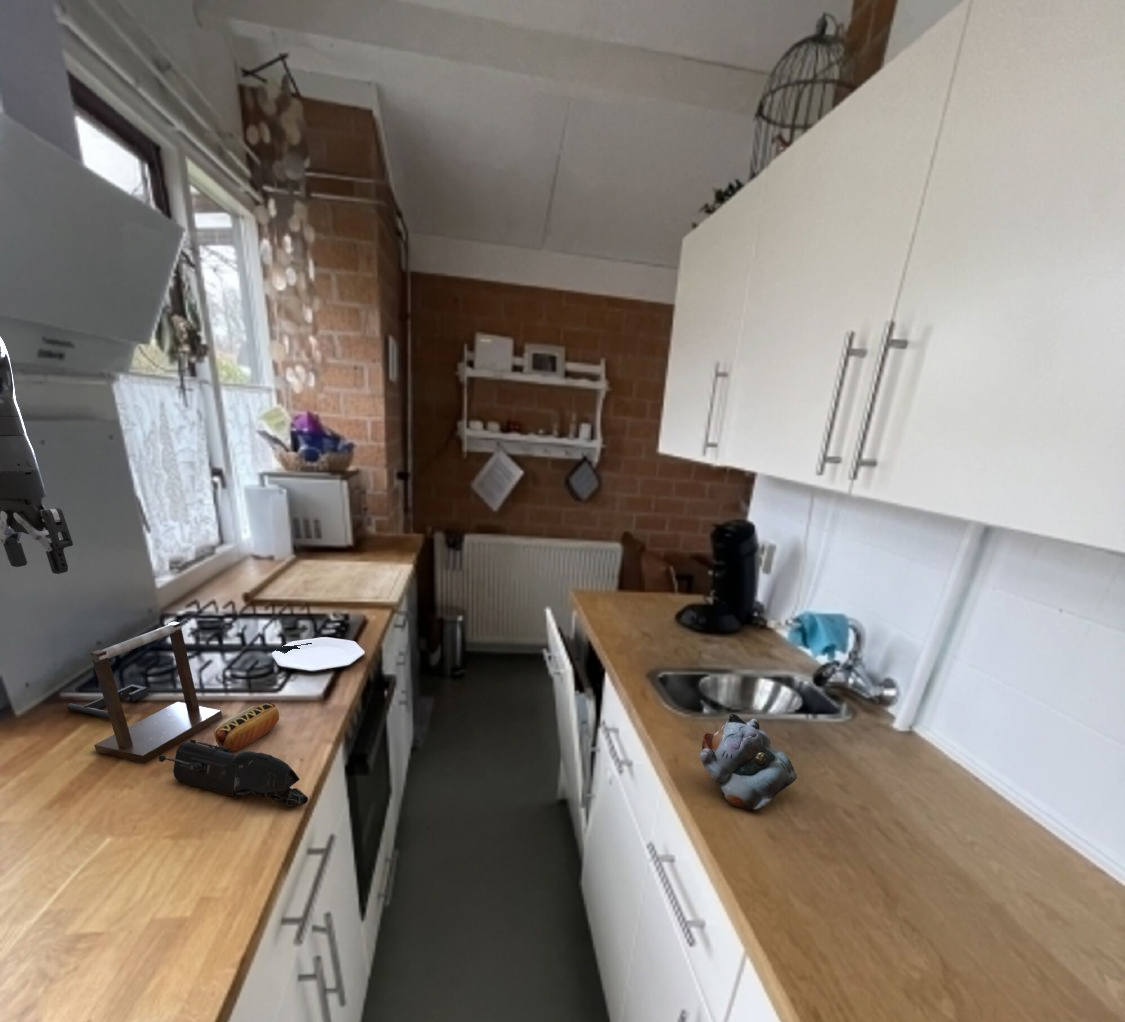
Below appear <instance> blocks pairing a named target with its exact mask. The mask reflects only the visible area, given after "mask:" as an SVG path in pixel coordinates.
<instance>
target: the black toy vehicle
mask: <svg viewBox="0 0 1125 1022" xmlns="http://www.w3.org/2000/svg"><path fill="white" fill-rule="evenodd" d="M165 761H170V762H174V763H173V769H172V770H173V777H174V779H175V780H176V781H177V782H179V783H182V784H186V785H189V786H193V787H197V788H200V789H204V790H208V791H211V792H214V793H218V794H221V795H225V796H229V797H231V798H235V797H236V796H239V795H241V796H246V795H249V794H251V793H253V794H254V795H255V796H257V797H261V798H266V799H267V798H268V799H270V800H272V801H273V802H277V803H280V804H287V806H288V807H297V806H303V805H306V804H307V803H308V802H309V797H308V795H306V794H305V793H303V792H302V790H301V789H299V788H297V787H294V788H291V787H292V786H294V785H295V784H297V782H299V781H300V780H301V779H300V777H299V776H298V774H297V773H296V772H295V771H294V770H293V768H292V767H291V766H290V765H289V764H288V763H286V762H285V761H284V760H282V759H281V758H278V757H275V756H273V755H272V754H268V753H264V752H261V751H260V752H257V751H251V750H245V751H241V752H239V753H238V754H236V753H232V752H231V750H229V748H227V747H223V746H219V745H217V744H216V745H215V744H212V743H208V742H203V741H199V740H196V739H192V738H190V739H189V741H188V742H187V741H184V742H183V741H182V742H180V743H179V745H178V746H177V749H176V751H175V757H174V758H172V757H168V756H166V755H163V754H160V755H158V762H161V763H164V762H165Z"/></svg>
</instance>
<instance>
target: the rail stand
mask: <svg viewBox="0 0 1125 1022" xmlns="http://www.w3.org/2000/svg"><path fill="white" fill-rule="evenodd" d="M167 636H169V638H170V639H169V640H170V643H171V648H172V652H173V656H174V660H175V664H176V669H177V673H178V678H179V681H180V686H181V687H180V688H181V692H182V696H183V699H184V702H181V701H176V702H174V703H172V704H171V705H168V706H167V707H164V708H162V709H160V710H159V711H157V712H155V713H153V714H151V715H149V716H147V717H145V718H143V719H141V720H139V721H138V722H135V723H133V724H132V725H128V723H127V719H126V716H125V712H124V708H123V706H122V701H121V699H120V698H119V694H118V687H117V684H116V681H115V677H114V673H113V670H112V666H111V664H110V660H109V659H111V658H114V657H117V656H119V655H122V654H124V653H126V652H129V651H132V650H134V649H137V648H140V647H142V646H144V645H148V644H149V643H152V642H155V641H158V640H160V639H163V638H164V637H167ZM187 651H188V650H187V647H186V643H185V637H184V634H183V630H182V625H181V622H177V621H172V622H169V623H167V624H166V625H164V626H161V627H159V628H156V629H153V630H151V631H148V632H146V633H143V634H141V635H138V636H135V637H132V638H130V639H127V640H125V641H122V642H120V643H116V644H113V645H110V646H109V647H105V648H103V649H97V650H94V651H91V652H90V653H89V654H90V658H91V661H92V663H93V667H94V670H95V674H96V678H97V681H98V684H99V687H100V689H101V694H102V698H103V697H104V701H105V704H106V706H105V707H106V711H107V712H108V714H109V717H110V719H109V720H110V724H111V728H112V731H113V735H111V736H109V737H106V738H105V739H103V740H101V741H99V742H97V743H95V744H94V745H93V746H94V749H95V752H96V753H99V754H102V755H107V756H111V757H116V758H120V759H124V760H129V761H133V762H138V763H141V764H142V763H143V764H146V763H148V762H149V761H151V760H153V759H154V758H156V757H159V756H160V755H162V754H163V753H165V752H166V751H169V750H170V749H172V748H173V747H175V746H176V745H178V744H181V743H183V741H185V740H186V739H189V738H191V737H192V736H193V735H195V734H197V733H199V732H200V731H202V730H203V729H205V728H207V727H209V726H210V725H212V724H214V723H216V722H217V721H218V720H221V719H222V718H223V713H222V710H221V709H215V708H211V707H205V706H200V705H199V701H198V695H197V691H196V687H195V683H194V678H193V674H192V669H191V665H190V661H189V656H188V652H187Z"/></svg>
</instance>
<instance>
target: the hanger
mask: <svg viewBox="0 0 1125 1022" xmlns="http://www.w3.org/2000/svg"><path fill="white" fill-rule="evenodd" d="M117 691H118V694H119V698H120V700H122V699H125V698H126V697H128V698H129V701H130V702H131V703H133V702H136V701H137V700H140V699H142V698H144V697H147V696H149V691H148V687H146V686H141V685H137V684H130V685H127V686H125V687H123V688H121V689H117ZM121 693H122V694H121ZM139 693H140V694H139ZM104 707H106V704H105V701H104V697H103V696H102V697H100V698H98V699H95V700H94V701H92V702H89V703H87V704H85V705H80V704H76V703H71V702H70V703H68V704H67V705H66V709H68V710H70V711H75V712H78V713H82V714H87V715H91V716H97V717H99V718H104V719H108V720H110V717H109V714H108V711H107V710H102V709H101V708H104Z"/></svg>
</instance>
